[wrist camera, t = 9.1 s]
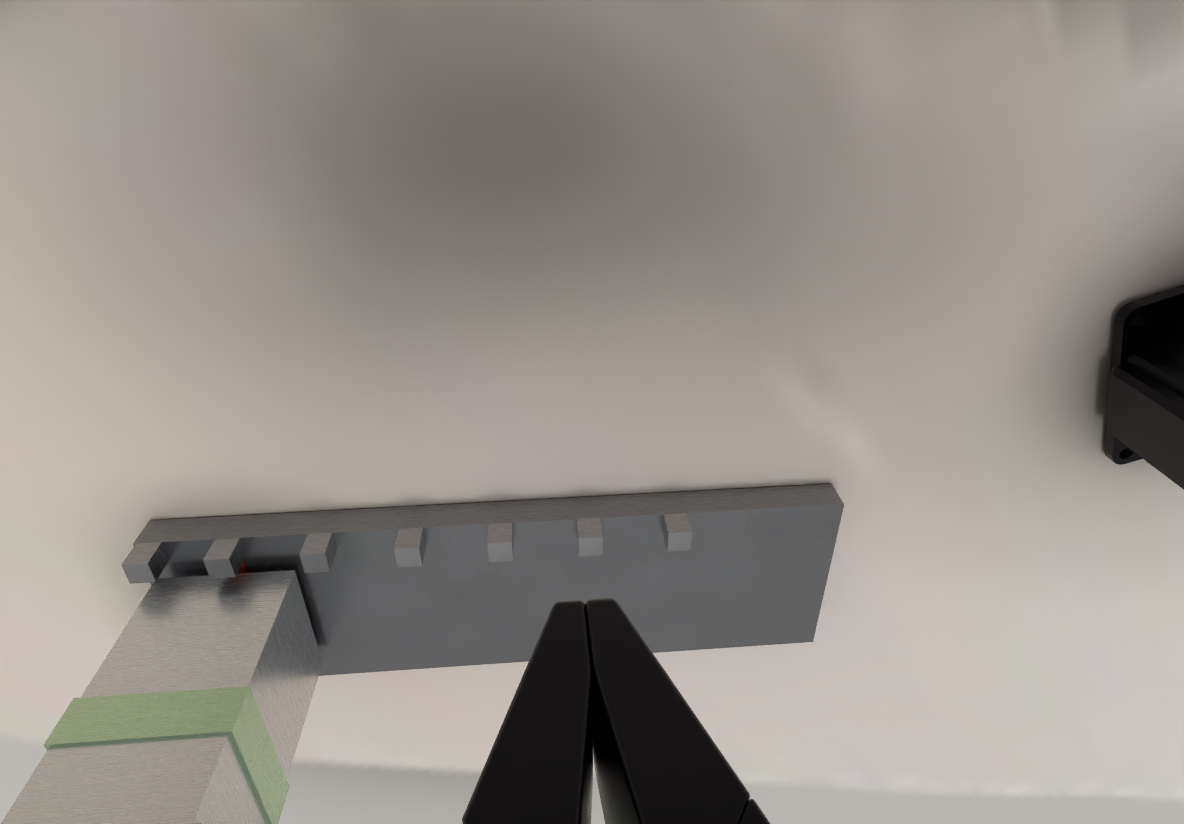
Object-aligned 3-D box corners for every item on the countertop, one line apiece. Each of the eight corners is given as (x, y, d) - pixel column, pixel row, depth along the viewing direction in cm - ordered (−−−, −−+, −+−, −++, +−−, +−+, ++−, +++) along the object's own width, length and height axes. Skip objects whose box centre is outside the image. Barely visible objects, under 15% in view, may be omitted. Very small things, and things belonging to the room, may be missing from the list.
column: (303, 562, 23) (190, 850, 16) (333, 667, 26) (250, 956, 18) (142, 572, 23) (-56, 870, 15) (189, 676, 26) (41, 976, 18)
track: (831, 483, 26) (878, 559, 22) (802, 619, 29) (839, 702, 26) (150, 520, 24) (87, 607, 21) (208, 658, 28) (163, 752, 24)
